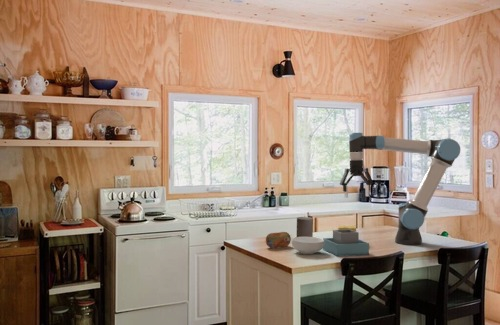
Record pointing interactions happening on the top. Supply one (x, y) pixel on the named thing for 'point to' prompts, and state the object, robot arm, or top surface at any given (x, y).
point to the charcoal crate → (345, 236)
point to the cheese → (347, 228)
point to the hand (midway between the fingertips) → (356, 196)
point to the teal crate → (346, 248)
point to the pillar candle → (304, 227)
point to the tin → (278, 240)
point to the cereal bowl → (307, 244)
